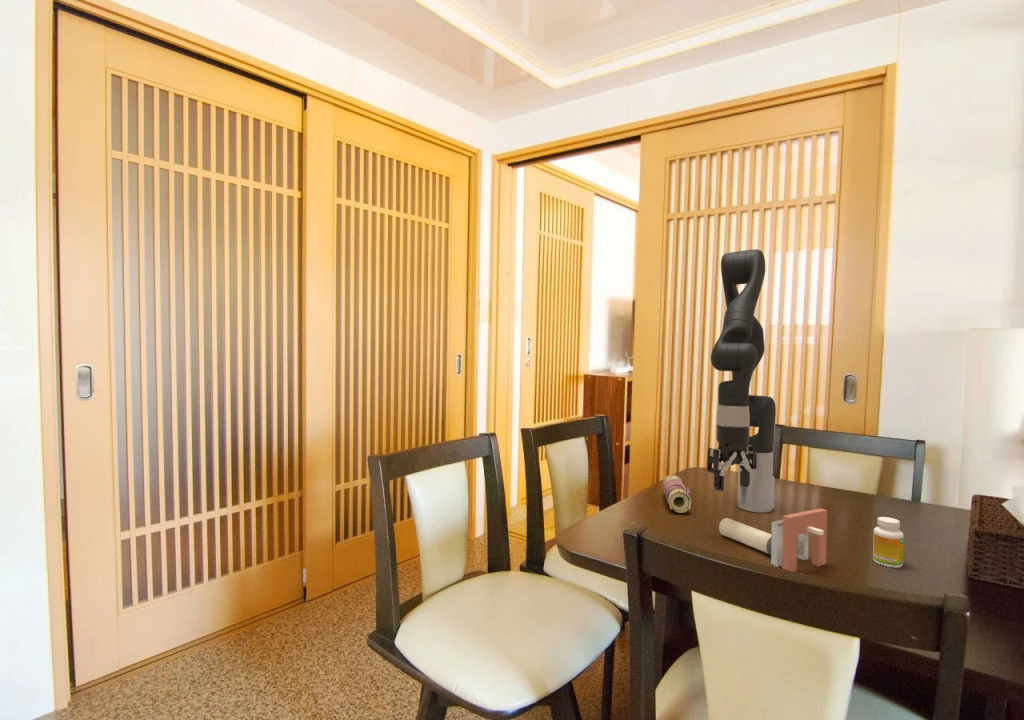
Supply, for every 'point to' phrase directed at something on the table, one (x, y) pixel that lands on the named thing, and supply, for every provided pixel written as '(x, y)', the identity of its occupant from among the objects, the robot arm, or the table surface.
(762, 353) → the robot arm
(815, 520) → the wall
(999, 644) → the table surface
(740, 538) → the white long cylinder
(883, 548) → the supplement bottle
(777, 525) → the grey u-shaped panel
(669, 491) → the scroll
